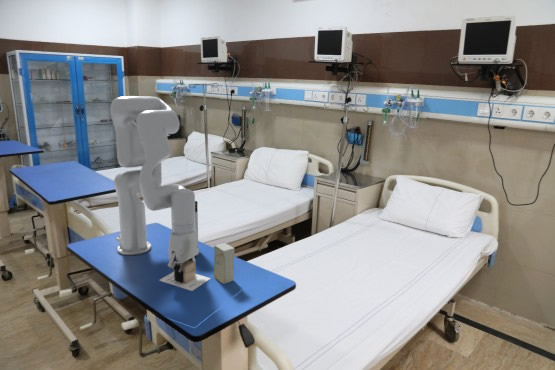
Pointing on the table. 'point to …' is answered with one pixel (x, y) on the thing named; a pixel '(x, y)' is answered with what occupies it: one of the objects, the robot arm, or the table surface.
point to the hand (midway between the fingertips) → (184, 277)
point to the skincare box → (224, 263)
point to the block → (188, 271)
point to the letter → (190, 285)
